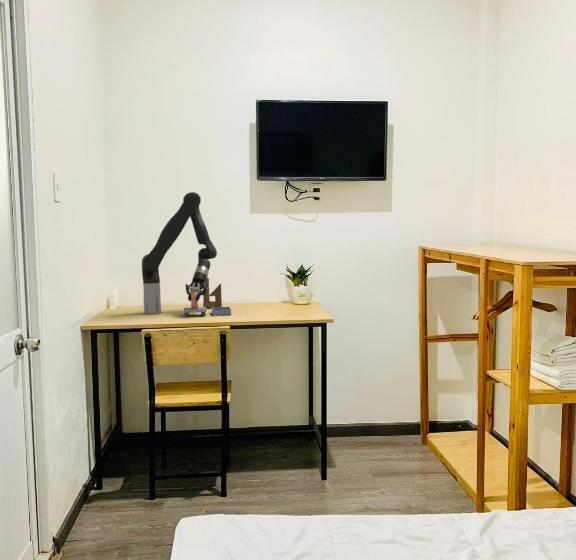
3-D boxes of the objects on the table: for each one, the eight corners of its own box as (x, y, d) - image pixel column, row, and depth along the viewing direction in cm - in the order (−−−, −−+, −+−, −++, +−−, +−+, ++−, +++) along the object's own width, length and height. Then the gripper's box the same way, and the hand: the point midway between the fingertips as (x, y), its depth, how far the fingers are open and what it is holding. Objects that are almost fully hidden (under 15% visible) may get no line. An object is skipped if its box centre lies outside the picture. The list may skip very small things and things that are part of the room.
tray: (212, 315, 320) (212, 310, 320) (211, 312, 330) (211, 307, 330) (231, 315, 322) (231, 309, 322) (229, 311, 332) (229, 306, 332)
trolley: (183, 317, 317) (183, 310, 316) (184, 314, 325) (183, 307, 324) (206, 316, 319) (206, 309, 318) (205, 313, 327) (205, 306, 326)
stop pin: (190, 308, 319) (189, 288, 317) (190, 307, 323) (189, 287, 322) (198, 308, 319) (198, 288, 318) (198, 307, 324) (198, 287, 323)
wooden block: (221, 307, 346) (221, 277, 344) (203, 308, 344) (202, 278, 342) (221, 306, 350) (220, 276, 348) (203, 307, 348) (202, 277, 346)
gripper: (186, 271, 328) (178, 296, 318) (210, 271, 325) (203, 296, 314) (190, 279, 334) (182, 304, 323) (214, 280, 330) (207, 304, 320)
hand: (193, 300), depth 319 cm, fingers closed on stop pin, 3 cm apart
